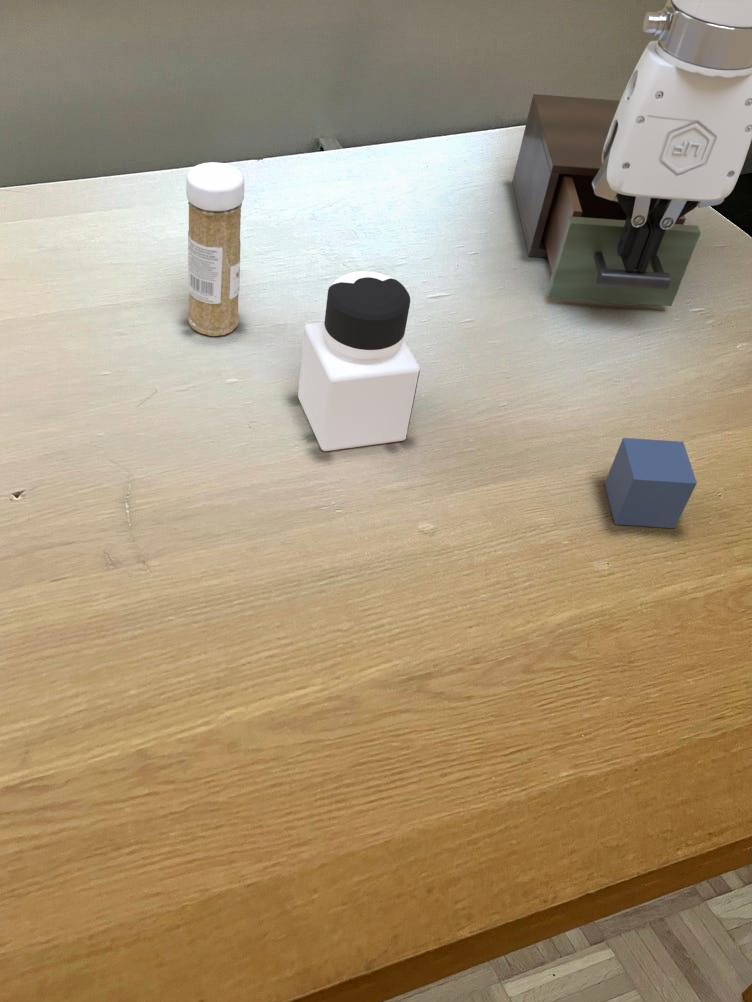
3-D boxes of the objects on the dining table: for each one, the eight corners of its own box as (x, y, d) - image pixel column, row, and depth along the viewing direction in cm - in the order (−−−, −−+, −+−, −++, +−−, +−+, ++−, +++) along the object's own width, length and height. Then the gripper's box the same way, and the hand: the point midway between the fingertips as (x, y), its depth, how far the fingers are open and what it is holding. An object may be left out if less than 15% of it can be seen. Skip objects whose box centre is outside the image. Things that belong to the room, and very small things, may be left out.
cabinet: (656, 265, 103) (690, 175, 96) (528, 256, 103) (553, 164, 96) (629, 190, 112) (658, 103, 105) (511, 182, 112) (533, 93, 105)
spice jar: (249, 327, 93) (256, 178, 82) (207, 344, 91) (209, 194, 80) (217, 302, 95) (221, 154, 84) (176, 318, 93) (174, 169, 82)
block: (662, 487, 82) (683, 441, 79) (674, 528, 79) (697, 483, 76) (604, 483, 82) (622, 437, 79) (614, 524, 79) (633, 478, 76)
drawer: (681, 334, 94) (712, 259, 89) (554, 325, 94) (577, 249, 88) (643, 229, 105) (669, 157, 100) (530, 221, 105) (549, 148, 100)
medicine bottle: (407, 442, 84) (434, 310, 75) (321, 453, 82) (338, 320, 73) (378, 387, 88) (400, 255, 79) (296, 397, 87) (309, 264, 77)
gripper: (621, 48, 74) (552, 281, 89) (830, 65, 75) (727, 294, 89) (603, 7, 79) (540, 234, 93) (799, 23, 80) (707, 247, 94)
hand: (632, 263), depth 91 cm, fingers closed
